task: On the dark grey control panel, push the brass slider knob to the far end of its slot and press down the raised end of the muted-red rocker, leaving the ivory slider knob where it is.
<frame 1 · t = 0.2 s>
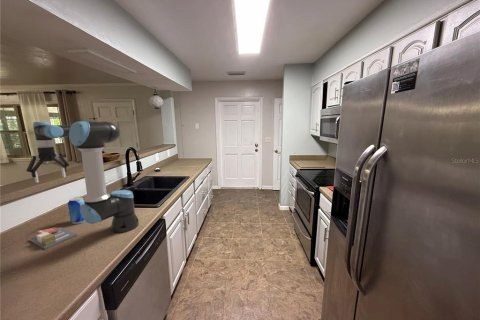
hand: (51, 179, 127), 28 cm above the counter, fingers open, 13 cm apart
panel: (53, 238, 111), on the counter
rocker: (48, 231, 112), point 3 cm above the counter, hinge at 12.0°
ivory slider: (43, 237, 107), point 3 cm above the counter, slide at 0.0 cm
brass slider: (48, 239, 105), point 3 cm above the counter, slide at 0.0 cm
beer can: (79, 221, 130), on the counter
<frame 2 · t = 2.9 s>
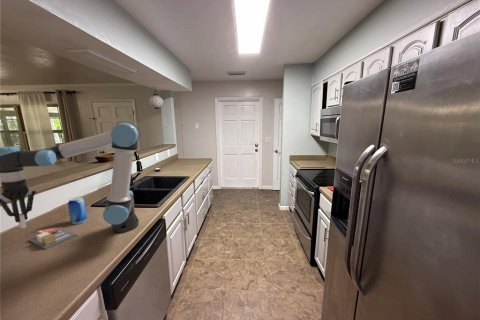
hand: (23, 227, 95), 14 cm above the counter, fingers closed
nothing on the counter moved.
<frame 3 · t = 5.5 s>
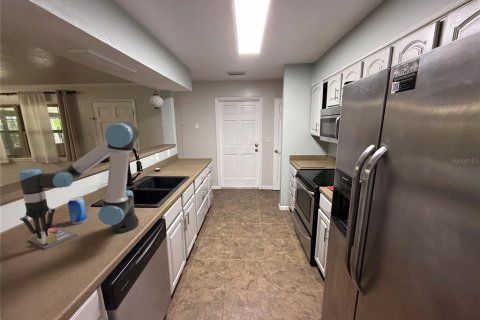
hand: (44, 242, 103), 2 cm above the counter, fingers closed
brass slider: (50, 238, 105), point 3 cm above the counter, slide at 0.8 cm, touching gripper
everything else where it was.
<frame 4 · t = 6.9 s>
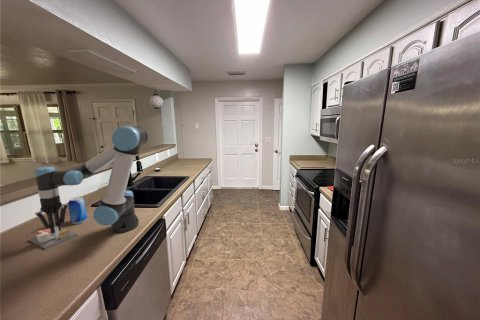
hand: (56, 237, 108), 2 cm above the counter, fingers closed
brass slider: (62, 233, 110), point 3 cm above the counter, slide at 6.2 cm, touching gripper
everything else where it was.
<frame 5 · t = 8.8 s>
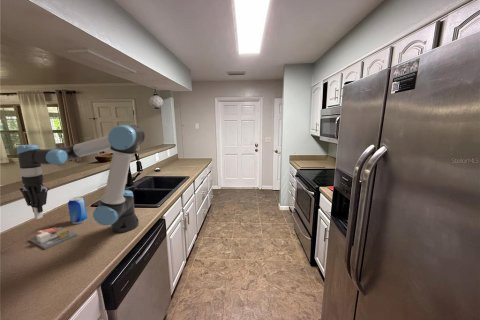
hand: (39, 217, 105), 14 cm above the counter, fingers closed
brass slider: (62, 233, 110), point 3 cm above the counter, slide at 6.2 cm
everything else where it was.
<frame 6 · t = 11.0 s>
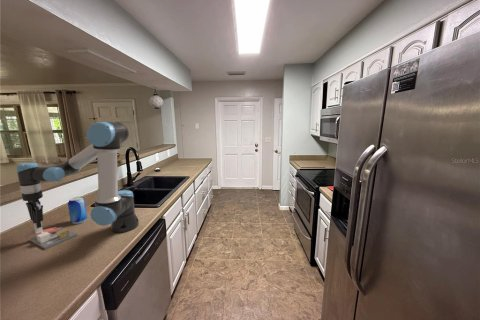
hand: (39, 232, 109), 4 cm above the counter, fingers closed
rocker: (48, 231, 112), point 3 cm above the counter, hinge at 9.5°, touching gripper
everything else where it was.
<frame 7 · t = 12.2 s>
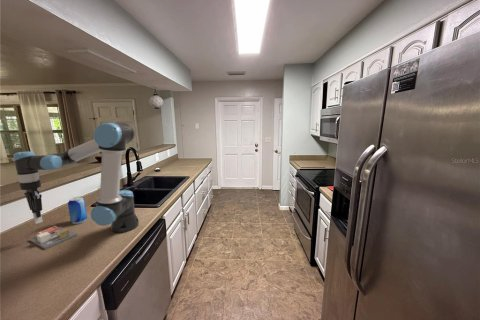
hand: (39, 222, 108), 10 cm above the counter, fingers closed
rocker: (48, 231, 112), point 3 cm above the counter, hinge at -4.4°
everything else where it was.
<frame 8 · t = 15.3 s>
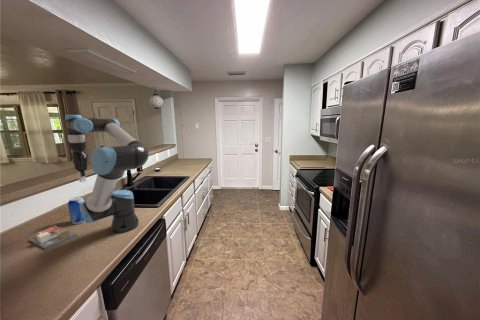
hand: (82, 181, 118), 29 cm above the counter, fingers closed
rocker: (48, 231, 112), point 3 cm above the counter, hinge at -5.0°
everything else where it was.
at the end: brass slider slide at 6.2 cm; rocker at -5° (first picture: +12°); ivory slider slide at 0.0 cm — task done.
